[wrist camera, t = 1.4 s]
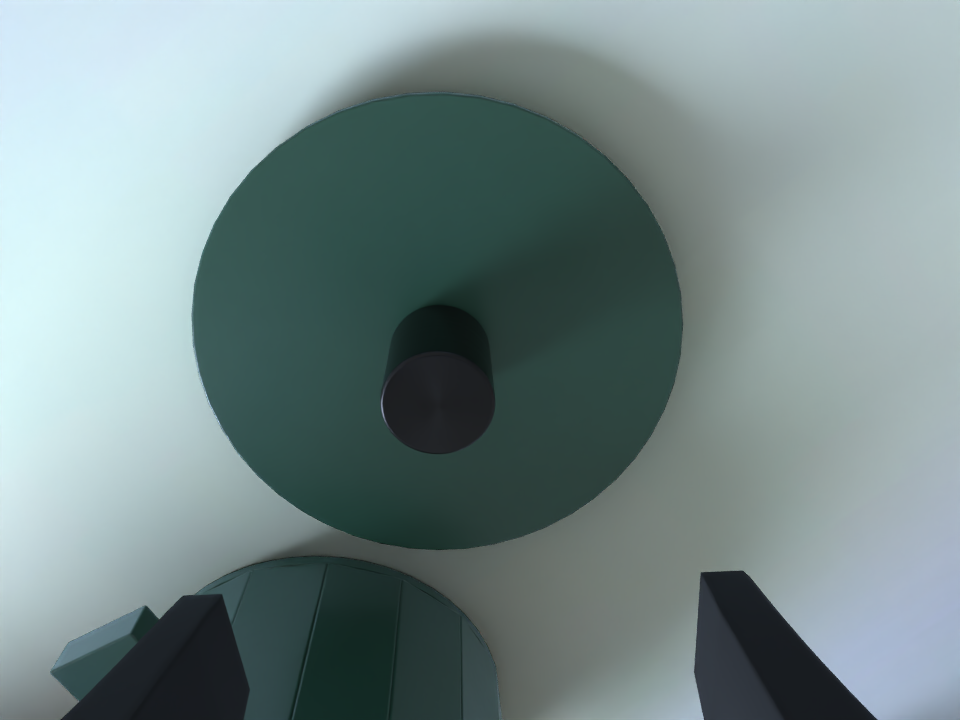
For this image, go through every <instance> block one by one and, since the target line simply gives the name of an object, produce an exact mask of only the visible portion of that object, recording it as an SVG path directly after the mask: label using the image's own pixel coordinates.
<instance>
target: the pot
mask: <svg viewBox="0 0 960 720" xmlns="http://www.w3.org/2000/svg"><path fill="white" fill-rule="evenodd" d="M208 594H222V595H223V599H224V602H225V605H226V609H227V612H228V616H229V619H230V623H231V626H232V629H233V633H234V636H235V640H236V643H237V646H238V650H239V653H240V657H241V660H242V663H243V667H244V670H245V674H246V677H247V680H248V684H249V687H250V692H249V697H248V701H247V706H246V711H245V716H244V720H502V714H501V706H500V698H499V688H498V678H497V672H496V666H495V663H494V661H493V659H492V656H491V654H490V651H489V649H488V647H487V645H486V643H485V641H484V640H483V638H482V636H481V635H480V633H479V631H478V630H477V629H476V627H475V626H474V625H473V624H472V623H471V621H470V620H469V619H468V618H467V616H466V615H465V614H464V613H463V612H462V611H461V610H459V609H458V608H457V607H456V606H455V605H454V604H453V603H452V602H451V601H450V600H448V599H447V598H445V597H444V596H443V595H441V594H440V593H438V592H437V591H436V590H434V589H433V588H431V587H429V586H427V585H426V584H424V583H422V582H420V581H418V580H416V579H415V578H413V577H410V576H408V575H405V574H403V573H400V572H398V571H396V570H393V569H391V568H387V567H384V566H380V565H376V564H373V563H369V562H365V561H359V560H353V559H347V558H339V557H322V556H311V557H292V558H285V559H279V560H272V561H267V562H263V563H260V564H256V565H252V566H249V567H245V568H243V569H240V570H238V571H235V572H233V573H230V574H228V575H225V576H223V577H222V578H220V579H218V580H216V581H214V582H213V583H211V584H209V585H207V586H206V587H204V588H203V589H201V590H200V591H199V592H197V593H196V594H195V595H208ZM158 621H159V619H158V618H157V617H156V616H155V615H154V613H153V612H152V611H151V610H150V609H149V608H148V607H147V606H143V607H141V608H139V609H137V610H135V611H133V612H131V613H129V614H126V615H124V616H122V617H120V618H118V619H116V620H114V621H112V622H110V623H108V624H106V625H104V626H102V627H100V628H97V629H95V630H93V631H91V632H89V633H87V634H85V635H83V636H81V637H79V638H77V639H75V640H73V641H71V642H69V643H68V644H67V645H66V647H65V649H64V650H63V652H62V653H61V655H60V657H59V658H58V660H57V661H56V663H55V665H54V666H53V668H52V669H51V671H50V673H51V674H52V675H53V676H54V677H55V678H56V679H57V680H58V681H59V682H60V683H61V684H62V685H63V686H64V687H65V688H66V689H67V690H68V691H69V692H70V693H71V694H72V695H73V696H74V697H75V698H76V699H77V700H78V701H79V702H80V701H81V700H82V699H83V698H84V697H85V696H86V695H87V694H88V693H89V692H90V691H91V690H92V689H93V688H94V686H95V685H96V684H97V683H98V682H99V681H100V680H101V679H102V678H103V677H104V676H105V675H106V674H107V673H108V672H109V671H110V670H111V669H112V668H113V667H114V666H115V665H116V664H117V663H118V662H119V661H120V660H121V659H122V658H123V657H124V656H125V655H126V654H127V653H128V652H129V651H130V650H131V649H132V648H133V647H134V646H135V645H136V644H137V642H138V641H139V640H140V639H141V638H142V637H143V636H144V635H145V634H146V633H147V632H148V631H149V630H150V629H151V628H152V627H153V626H154V625H155V624H156V623H157V622H158Z"/></svg>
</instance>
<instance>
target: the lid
mask: <svg viewBox="0 0 960 720" xmlns="http://www.w3.org/2000/svg"><path fill="white" fill-rule="evenodd" d="M682 330H683V319H682V303H681V293H680V288H679V283H678V278H677V273H676V268H675V264H674V261H673V259H672V256H671V253H670V250H669V248H668V245H667V242H666V239H665V237H664V234H663V232H662V231H661V229H660V227H659V225H658V223H657V221H656V219H655V218H654V216H653V214H652V212H651V210H650V208H649V207H648V205H647V204H646V202H645V201H644V200H643V198H642V197H641V196H640V194H639V193H638V192H637V190H636V189H635V187H634V186H633V185H632V183H631V182H630V181H629V180H628V179H627V178H626V177H625V176H624V175H623V174H622V173H621V171H620V170H619V169H618V168H617V167H616V166H615V165H614V164H613V163H612V162H611V161H610V160H609V159H608V158H607V157H606V156H605V155H603V154H602V153H601V152H600V151H598V150H597V149H596V148H594V147H593V146H592V145H590V144H589V143H588V142H587V141H585V140H584V139H583V138H581V137H580V136H579V135H577V134H576V133H574V132H573V131H571V130H569V129H567V128H565V127H564V126H562V125H560V124H558V123H557V122H555V121H553V120H551V119H550V118H548V117H546V116H543V115H541V114H538V113H536V112H533V111H531V110H528V109H526V108H523V107H521V106H518V105H516V104H513V103H509V102H505V101H500V100H496V99H492V98H488V97H484V96H480V95H471V94H461V93H451V92H423V93H406V94H400V95H394V96H389V97H383V98H377V99H372V100H369V101H366V102H363V103H360V104H357V105H354V106H351V107H348V108H345V109H342V110H339V111H337V112H335V113H333V114H331V115H329V116H327V117H325V118H323V119H320V120H318V121H316V122H314V123H312V124H310V125H308V126H307V127H305V128H304V129H302V130H301V131H299V132H298V133H297V134H295V135H294V136H292V137H291V138H289V139H288V140H286V141H285V142H283V143H282V144H280V145H279V146H277V147H276V148H275V149H274V150H273V151H272V152H271V153H270V154H269V155H267V156H266V157H265V158H264V159H263V160H262V161H261V162H260V163H259V164H258V165H257V166H256V167H254V168H253V169H252V170H251V171H250V173H249V174H248V175H247V176H246V178H245V179H244V180H243V181H242V183H241V184H240V185H239V186H238V187H237V189H236V190H235V191H234V192H233V194H232V195H231V196H230V198H229V200H228V201H227V203H226V205H225V206H224V208H223V210H222V211H221V213H220V215H219V216H218V218H217V220H216V221H215V223H214V225H213V228H212V230H211V233H210V235H209V237H208V240H207V242H206V245H205V247H204V250H203V252H202V255H201V259H200V263H199V268H198V272H197V276H196V280H195V284H194V294H193V305H192V333H193V347H194V352H195V357H196V362H197V368H198V373H199V376H200V379H201V382H202V385H203V388H204V391H205V394H206V397H207V400H208V403H209V405H210V407H211V409H212V411H213V413H214V415H215V417H216V419H217V421H218V423H219V425H220V427H221V429H222V430H223V432H224V433H225V435H226V436H227V438H228V439H229V441H230V442H231V444H232V445H233V447H234V448H235V450H236V451H237V453H238V454H239V455H240V456H241V458H242V459H243V460H244V461H245V462H246V463H247V464H248V466H249V467H250V468H251V469H252V470H253V471H254V472H255V474H256V475H257V476H258V477H259V478H261V479H262V480H263V481H264V482H265V483H266V484H267V485H268V486H270V487H271V488H272V489H273V490H274V491H275V492H276V493H277V494H278V495H280V496H281V497H283V498H284V499H286V500H287V501H288V502H290V503H291V504H293V505H294V506H295V507H297V508H298V509H300V510H301V511H303V512H305V513H306V514H308V515H310V516H312V517H314V518H316V519H317V520H319V521H321V522H323V523H325V524H327V525H329V526H331V527H334V528H336V529H339V530H341V531H344V532H346V533H348V534H351V535H353V536H357V537H360V538H364V539H367V540H371V541H374V542H378V543H381V544H387V545H393V546H399V547H405V548H414V549H430V550H447V549H466V548H473V547H479V546H486V545H492V544H497V543H500V542H504V541H508V540H511V539H515V538H519V537H522V536H525V535H527V534H530V533H532V532H535V531H537V530H540V529H543V528H545V527H547V526H549V525H551V524H553V523H555V522H557V521H559V520H561V519H563V518H565V517H566V516H568V515H570V514H572V513H574V512H575V511H576V510H578V509H579V508H581V507H582V506H584V505H585V504H587V503H588V502H590V501H591V500H593V499H594V498H595V497H597V496H598V495H599V494H600V493H601V492H602V491H603V490H605V489H606V488H607V487H608V486H609V485H610V484H611V483H613V482H614V481H615V480H616V479H617V478H618V477H619V476H620V475H621V473H622V472H623V471H624V470H625V469H626V468H627V467H628V466H629V465H630V464H631V462H632V461H633V460H634V459H635V458H636V456H637V455H638V454H639V452H640V451H641V449H642V448H643V446H644V445H645V443H646V442H647V441H648V439H649V438H650V436H651V435H652V433H653V431H654V429H655V427H656V425H657V423H658V421H659V419H660V418H661V416H662V414H663V412H664V410H665V407H666V404H667V402H668V399H669V396H670V393H671V391H672V388H673V385H674V382H675V378H676V373H677V368H678V364H679V359H680V355H681V343H682Z"/></svg>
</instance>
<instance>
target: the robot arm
mask: <svg viewBox="0 0 960 720" xmlns="http://www.w3.org/2000/svg"><path fill="white" fill-rule="evenodd" d="M694 674H695V678H696V683H697V688H698V693H699V697H700V702H701V707H702V712H703V716H704V720H877V719H876V718H875V717H874V716H873V715H872V714H871V713H870V712H869V711H868V710H867V709H866V708H865V707H864V706H863V705H862V704H861V703H860V702H859V701H858V700H857V698H856V697H855V696H854V695H853V694H852V693H851V692H850V691H849V690H848V689H847V688H846V687H845V686H844V685H843V684H842V683H841V682H840V680H839V679H838V678H837V677H836V676H835V675H834V674H833V673H832V672H831V671H830V670H829V669H828V668H827V667H826V665H825V664H824V663H823V662H822V661H821V660H820V659H819V658H818V657H817V656H816V655H815V653H814V652H813V651H812V650H811V649H810V648H809V647H808V646H807V645H806V643H805V642H804V641H803V640H802V639H801V638H800V636H799V635H798V634H797V633H796V632H795V631H794V630H793V628H792V627H791V626H790V625H789V624H788V623H787V621H786V620H785V619H784V618H783V617H782V615H781V614H780V613H779V612H778V611H777V610H776V608H775V607H774V606H773V605H772V604H771V602H770V601H769V600H768V599H767V597H766V596H765V595H764V594H763V593H762V591H761V590H760V589H759V588H758V586H757V585H756V584H755V583H754V581H753V580H752V579H751V578H750V576H748V575H747V574H746V573H745V572H744V571H721V572H701V576H700V591H699V607H698V622H697V637H696V653H695V668H694ZM249 692H250V687H249V684H248V680H247V677H246V674H245V670H244V667H243V663H242V660H241V657H240V653H239V650H238V646H237V643H236V640H235V636H234V633H233V629H232V626H231V623H230V619H229V616H228V612H227V609H226V605H225V602H224V599H223V595H222V594H208V595H186V596H182V597H181V598H180V599H179V600H178V601H177V602H176V603H175V604H174V605H173V606H172V607H171V608H170V609H169V610H168V611H167V612H166V613H165V614H164V615H163V616H162V618H161V619H160V620H159V621H158V622H157V623H156V624H155V625H154V626H153V627H152V628H151V629H150V630H149V631H148V632H147V633H146V634H145V635H144V636H143V637H142V638H141V639H140V640H139V641H138V642H137V644H136V645H135V646H134V647H133V648H132V649H131V650H130V651H129V652H128V653H127V654H126V655H125V656H124V657H123V658H122V659H121V660H120V661H119V662H118V663H117V664H116V665H115V666H114V667H113V668H112V669H111V670H110V671H109V672H108V673H107V674H106V675H105V676H104V677H103V678H102V679H101V680H100V681H99V682H98V683H97V684H96V685H95V686H94V688H93V689H92V690H91V691H90V692H89V693H88V694H87V695H86V696H85V697H84V698H83V699H82V700H81V701H80V702H79V703H78V704H77V705H76V706H75V707H74V708H73V709H72V710H71V711H69V712H68V713H67V714H66V715H65V716H64V717H63V718H62V719H61V720H244V716H245V711H246V706H247V701H248V697H249Z"/></svg>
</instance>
